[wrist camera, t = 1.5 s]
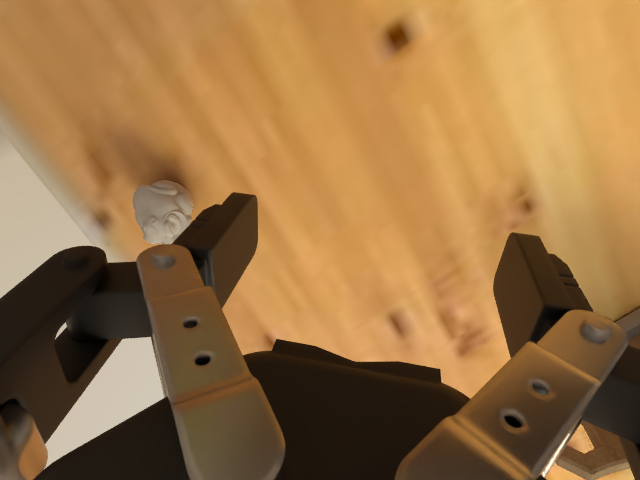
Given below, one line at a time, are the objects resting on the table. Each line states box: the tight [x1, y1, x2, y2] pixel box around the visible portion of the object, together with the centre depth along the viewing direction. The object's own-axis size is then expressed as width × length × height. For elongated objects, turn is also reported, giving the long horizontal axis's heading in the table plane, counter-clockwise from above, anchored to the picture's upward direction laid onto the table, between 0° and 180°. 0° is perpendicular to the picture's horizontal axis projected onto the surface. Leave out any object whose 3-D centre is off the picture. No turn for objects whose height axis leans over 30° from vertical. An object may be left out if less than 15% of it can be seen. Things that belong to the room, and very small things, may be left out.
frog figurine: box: [133, 180, 193, 244], centre depth 44 cm, size 6×7×7 cm
